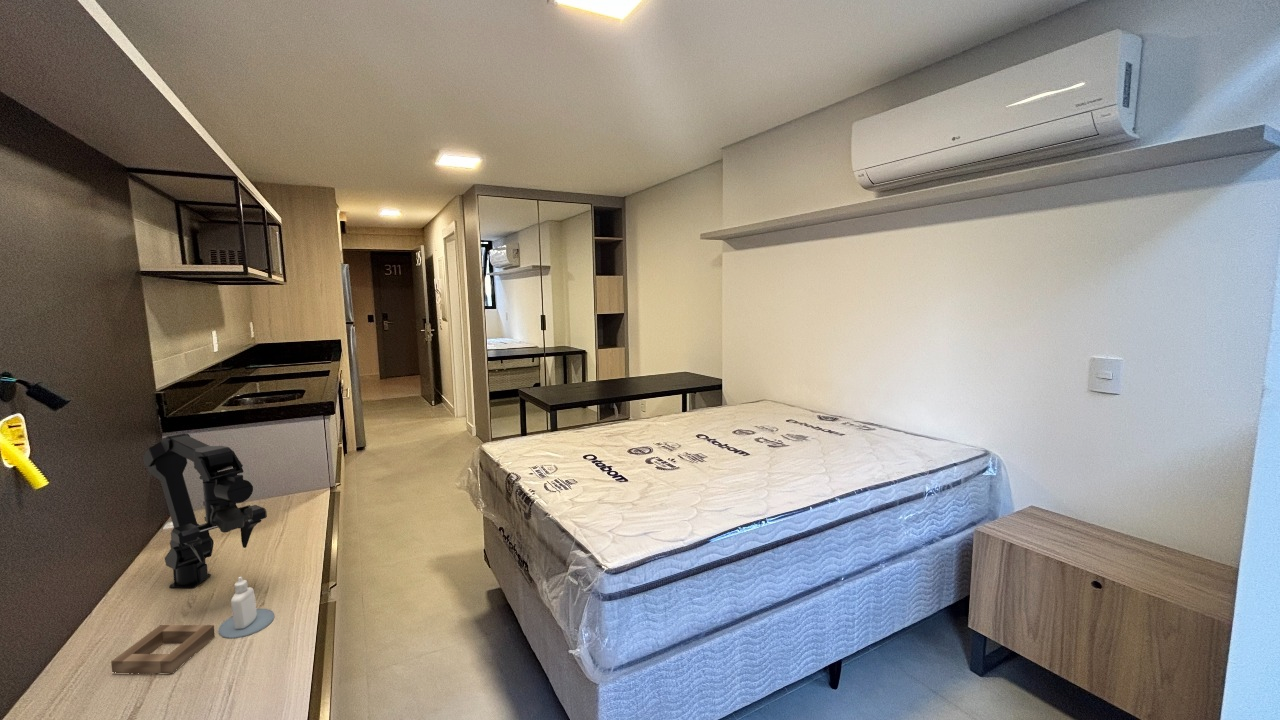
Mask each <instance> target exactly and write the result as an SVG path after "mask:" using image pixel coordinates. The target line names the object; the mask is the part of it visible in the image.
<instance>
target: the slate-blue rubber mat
mask: <svg viewBox="0 0 1280 720" xmlns="http://www.w3.org/2000/svg"><path fill="white" fill-rule="evenodd" d="M256 610H257V617H256V619H255V620H254V621H253V622H252V623H251V624H250V625H248V626H247V627H245V628H242V629H235V628H234V621H233V615H232V616H230V617H229V618H227V619H226V620H223V622H222V623H221V624H220V625H219V627H218V629H217V630H218V631H217V632H218V635H219V636H220V637H221V636H222V638H225V639H239V638H245V637H249V636H251V635H253V634H256V633H258V632H260V631H262V630H264V629H266V628H267V627H268V626H269V625H271V624H272V622H273V621H274V619H275V613H274V611H273V610H271V609H268V608H256Z"/></svg>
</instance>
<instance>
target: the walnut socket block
mask: <svg viewBox="0 0 1280 720" xmlns="http://www.w3.org/2000/svg"><path fill="white" fill-rule="evenodd" d="M215 635H216V632H215V625H214V624H212V625H211V624H189V625H188V624H159V626H158V625H157V627H155V628H154V629H153V630H152V631H150V632H149V633H147V634H146V635H144V636H143V637H142V638H141V639H139V640H138V641H137V642H135V643H134V644H132V645H131V646H130V647H128V648H127V649H125V650H124V651H123V652H121V654H119V655H118V656H116V657H115V658H114V659H112V660H111V665H110V666H111V673H112V672H114V673H115V672H116V673H129V674H128V675H156V674H155V673H173V672H174V671H175V670H176V669H177V670H179V669H180V668H181V667H182V666H183V665H184V664H185V663H186V661H187V660H188V659H189V658H190V657H191V658H193V657H194V656H195V655H196V654H197V653H198V652H199V651H200V650H202V649H203V648H204V647H205V646H206V645H208V644H209V641H210V640H211V641H212V640H213V639H214V638H215ZM163 644H178V646H177V647H175V649H173V650H172V651H171V652H169V653H152V651H153V652H154V651H155V650H157V649H158V648H159V647H161V645H163ZM179 644H180V645H179ZM195 653H196V654H195ZM194 654H195V655H194ZM191 658H190V659H191ZM190 659H189V660H190ZM189 660H188V661H189ZM188 661H187V662H188ZM184 662H185V663H184ZM183 663H184V664H183ZM182 664H183V665H182ZM181 665H182V666H181ZM180 666H181V667H180ZM179 667H180V668H179ZM178 668H179V669H178ZM177 670H176V671H177ZM176 671H175V672H176ZM175 672H174V673H175ZM131 673H133V674H131ZM138 673H139V674H138ZM152 673H153V674H152ZM174 673H173V674H174Z"/></svg>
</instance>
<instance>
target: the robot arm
mask: <svg viewBox="0 0 1280 720" xmlns="http://www.w3.org/2000/svg"><path fill="white" fill-rule="evenodd" d="M188 460H190V461H191V462H193V468H194V469H195V470H196V472H198V474H199V475H200V476H199V479H200V480H202V486H203V487H202V488H203V490H202V491H203V499H204V501H202V504H203V507H204V509H205V510H204V512H205V516H204V518H203V519H204V522H206V523H203V524H199V523H198V522H197V521H198V520H197V518H196V514H195V511H194V508H193V505H192V502H191V498H190V494H189V491H188V487H187V484H186V481H185V480H186V479H185V477H184V471H185V470H186V467H187V465H188ZM142 462H143V465H144V466H145V467H147V470H148V473H149V474H150V475H151V476H153V477H154V478H156V479H158V480H159V482H160V485H161V488H162V491H163V492H162V493H163V495H164V498H165V502H166V505H167V509H168V512H169V516H170V519H171V522H172V526H173V528H172V530H171V532H170V539H171V540H170V542H169V545H170V550H168V552H167V554H166V555H165V556H164V561H165V566H167V567H168V568H170V569H172V574H173V582H172V583H171V584H169V586H168V587H169V588H170V589H194V588H196V587H197V586H198V585H200V584H202V583H203V582H204V581H205V580H206V579H208V578H210V577H211V573H208V563H206V558H210V557H212V554H213V550H214V542H215V541H214V539H213V537H212V536H211V535H210V531H211V530H214V529H217V528H218V529H219V531H220V532H221V533H224V534H225V533H229V532H231V531H234V530H237V529H240V539H241V545H242V548H244V549H245V548H247V547H248V543H249V540H250V538H251V534H252V532H253V530H254V528H255V527H256V526H257V525H258V524H260V523H261V522H262V520H263V519H266V518H268V515H267V513H268V512H267V509H266V508H264V507H262V506H260V505H257V504H253V505H250V504H247V505H244V506H240V507H239V506H238V505H237V504H241V503H243V502H246V501H247V500H248V499H250V497H251V496H252V494H253V492H254V487H253V486H254V485H252V483H251V482H250V481H249V480H247V479H244V476H243V474H242V473H244V469H243V466H244V465H243V464H242V462H241V460H240V459H239V457H238V456H237V455H236V453H235V451H234V450H233V449H231V447H229V446H226V445H225V446H224V445H209V444H207V443H205V442H202V441H201V440H198V439H195V438H194V437H192V436H191V435H190V434H189V433H184V432H183V433H177V434H176V433H175V434H171V435H166V436H165V437H163V438H162V439H161V441H159V442H158V443H156V444H154V445H152V446H151V447H148V449H147V451H145V453H144V454H143V456H142Z"/></svg>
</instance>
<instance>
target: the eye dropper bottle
mask: <svg viewBox="0 0 1280 720" xmlns="http://www.w3.org/2000/svg"><path fill="white" fill-rule="evenodd" d="M248 586H249V585H248V580H247V579H243V576H239V577H237V581H236V582H235V583H234V592H235V593H234V594H233V595H232V597H231V600H230V605H231V613H232V614H231V615H232V616H233V621H234V628H235V629H242V628H245V627H247V626H248V625H250V624H251V623H252V622H253V621H254V620H255V619H256V617H257V610H256V609H257V604H256V603H257V602H256V597H255V596H256V595H255V590H254V588H253V587H248Z"/></svg>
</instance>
